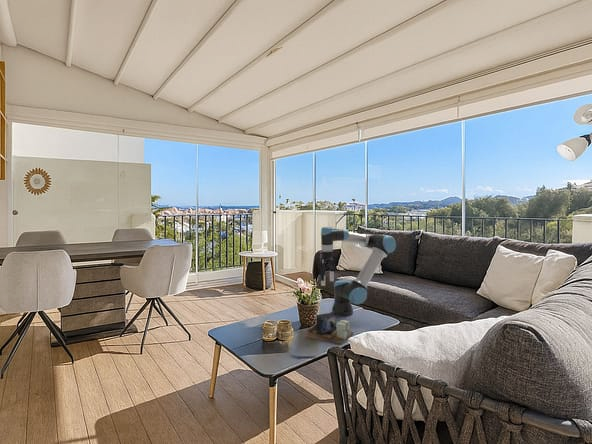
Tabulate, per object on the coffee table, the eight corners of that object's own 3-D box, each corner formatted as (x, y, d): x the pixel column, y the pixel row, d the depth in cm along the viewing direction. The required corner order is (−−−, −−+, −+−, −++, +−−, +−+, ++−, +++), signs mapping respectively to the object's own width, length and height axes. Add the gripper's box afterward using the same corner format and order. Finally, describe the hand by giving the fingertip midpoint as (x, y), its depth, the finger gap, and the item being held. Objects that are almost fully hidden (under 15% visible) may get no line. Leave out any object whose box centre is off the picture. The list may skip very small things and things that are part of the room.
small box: (320, 335, 210) (320, 317, 209) (315, 331, 216) (315, 314, 215) (336, 332, 213) (336, 315, 213) (331, 329, 220) (331, 312, 219)
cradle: (320, 327, 227) (320, 312, 226) (353, 334, 215) (353, 318, 215) (306, 337, 211) (306, 321, 211) (341, 344, 200) (341, 327, 199)
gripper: (329, 248, 244) (330, 278, 246) (313, 253, 223) (313, 286, 224) (340, 248, 241) (340, 279, 242) (324, 254, 219) (324, 288, 221)
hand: (327, 283), depth 233 cm, fingers open, 13 cm apart
